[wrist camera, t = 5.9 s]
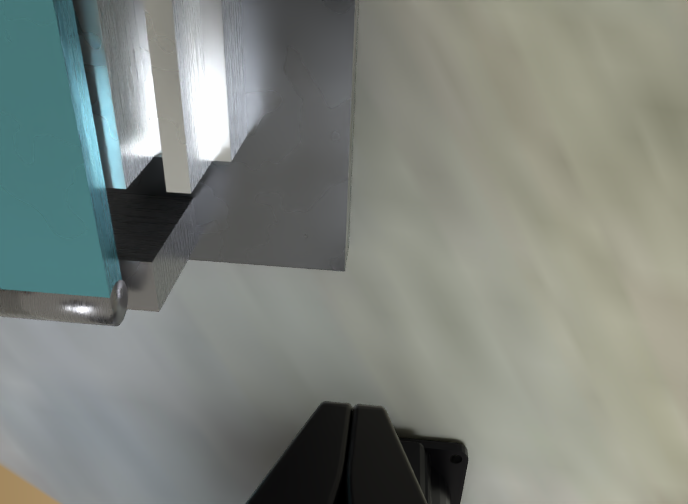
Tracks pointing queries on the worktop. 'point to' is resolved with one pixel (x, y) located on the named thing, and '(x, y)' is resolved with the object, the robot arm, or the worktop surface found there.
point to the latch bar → (52, 176)
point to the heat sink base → (286, 144)
